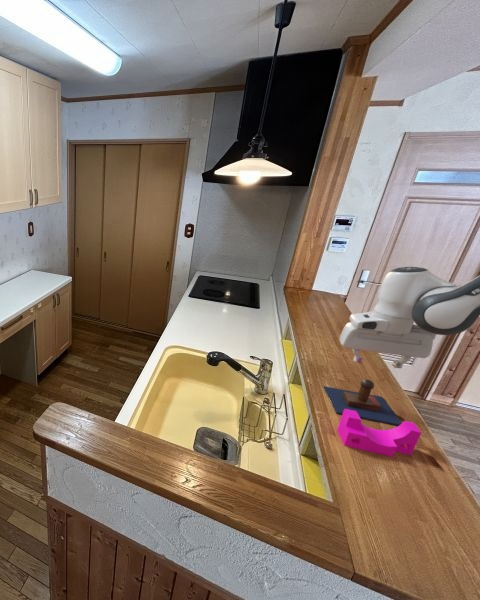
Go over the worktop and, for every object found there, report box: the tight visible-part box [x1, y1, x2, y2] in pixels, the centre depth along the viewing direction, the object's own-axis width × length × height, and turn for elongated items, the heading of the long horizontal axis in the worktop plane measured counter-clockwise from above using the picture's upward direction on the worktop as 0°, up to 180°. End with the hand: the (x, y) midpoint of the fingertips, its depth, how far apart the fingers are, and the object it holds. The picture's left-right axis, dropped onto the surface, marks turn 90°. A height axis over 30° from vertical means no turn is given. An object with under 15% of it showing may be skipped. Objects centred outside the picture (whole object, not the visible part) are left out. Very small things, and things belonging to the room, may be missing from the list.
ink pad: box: [323, 385, 403, 427], centre depth 102 cm, size 16×14×1 cm
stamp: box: [342, 378, 381, 412], centre depth 101 cm, size 8×5×9 cm, turn 69°
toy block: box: [336, 409, 422, 458], centre depth 86 cm, size 15×6×8 cm, turn 67°
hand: (376, 364), depth 97 cm, fingers open, 8 cm apart
